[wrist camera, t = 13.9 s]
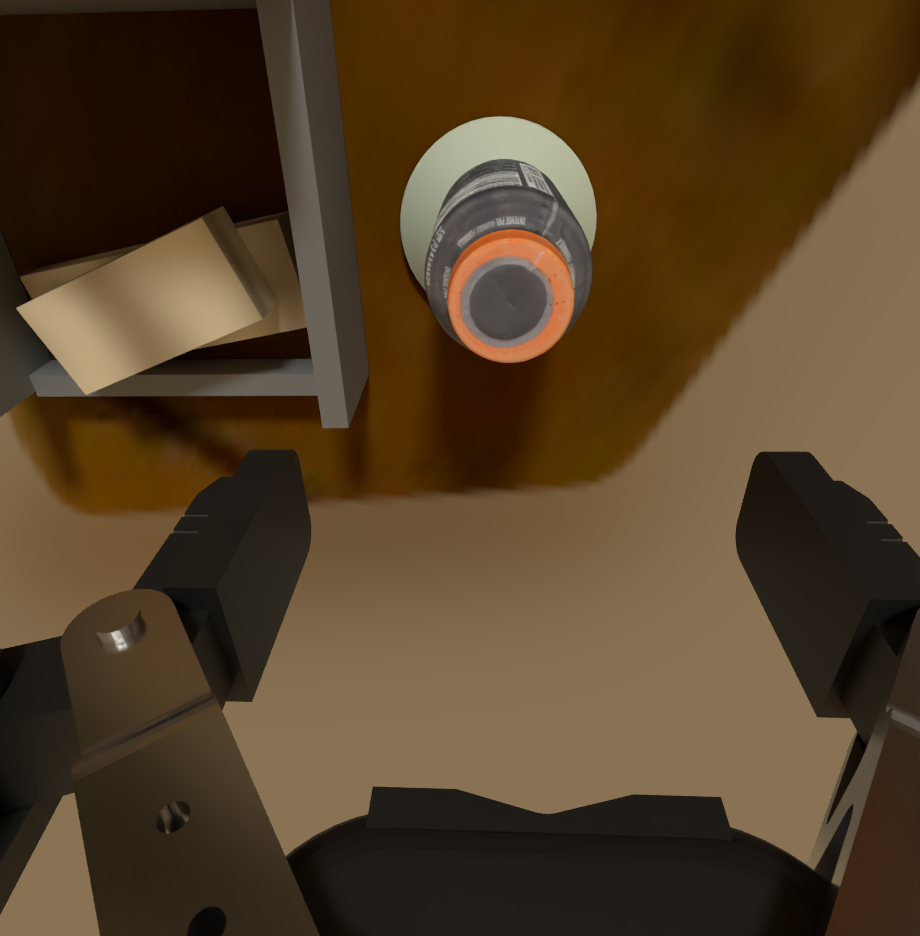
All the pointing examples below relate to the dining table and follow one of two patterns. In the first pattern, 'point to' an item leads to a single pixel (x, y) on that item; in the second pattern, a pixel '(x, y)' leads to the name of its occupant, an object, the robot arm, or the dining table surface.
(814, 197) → the dining table surface
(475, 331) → the pill bottle
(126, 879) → the robot arm
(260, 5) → the frame
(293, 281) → the offcut lower
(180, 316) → the offcut upper
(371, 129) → the dining table surface
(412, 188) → the coaster
